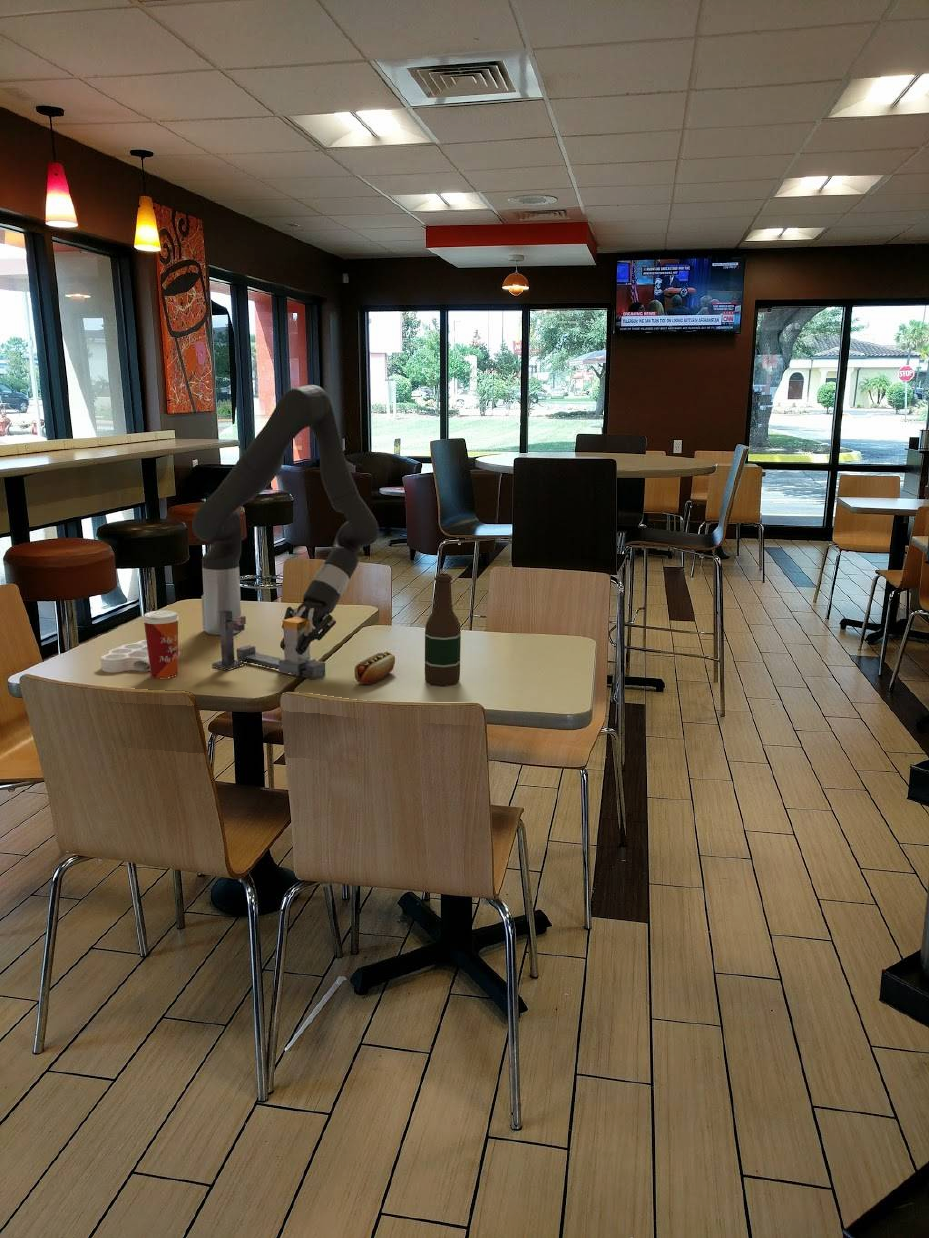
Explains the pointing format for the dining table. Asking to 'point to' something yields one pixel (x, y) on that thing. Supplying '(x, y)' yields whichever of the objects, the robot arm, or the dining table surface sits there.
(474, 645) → the dining table surface
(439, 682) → the beer bottle
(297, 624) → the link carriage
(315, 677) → the rail
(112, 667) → the white tray with holes
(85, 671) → the dining table surface
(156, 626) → the paper cup
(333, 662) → the dining table surface
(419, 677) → the dining table surface
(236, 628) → the hook
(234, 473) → the robot arm
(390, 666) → the hot dog
